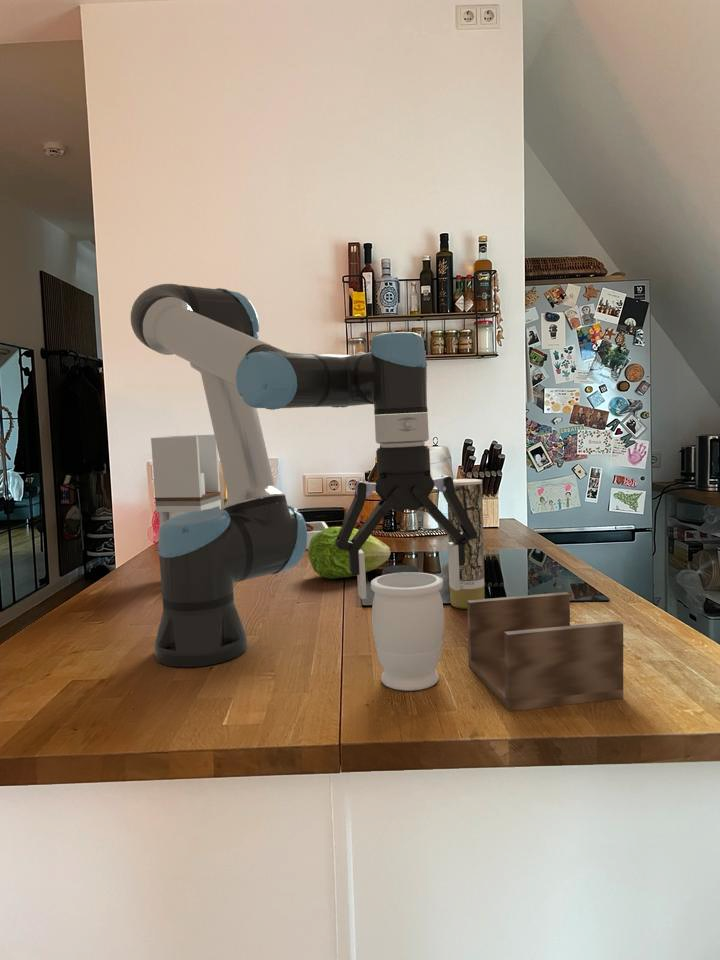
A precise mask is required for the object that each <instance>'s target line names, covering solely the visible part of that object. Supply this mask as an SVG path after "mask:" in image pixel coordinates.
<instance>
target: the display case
mask: <svg viewBox="0 0 720 960" xmlns="http://www.w3.org/2000/svg"><path fill="white" fill-rule="evenodd" d="M150 442H151V443H150V445H151V458H152V471H153V485H154V487H153V489H154V499H155V512H156V513H158V520H159V523H158V524H159V528H160V527H161V526H162V524H163V523H164V522H165V521H167V520H169V519H171V518H173V517H175V516H178V515H181V514H185V513H189V512H193V511H202V510H206V509H222V498H221V483H220V482H221V481H220V465H219V453H218V449H217V444H216V439H215V435H214V434H193V435H190V434H189V435H169V436H160V437H159V436H158V437H150ZM160 586H161V585H160ZM161 588H162V586H161Z"/></svg>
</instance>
